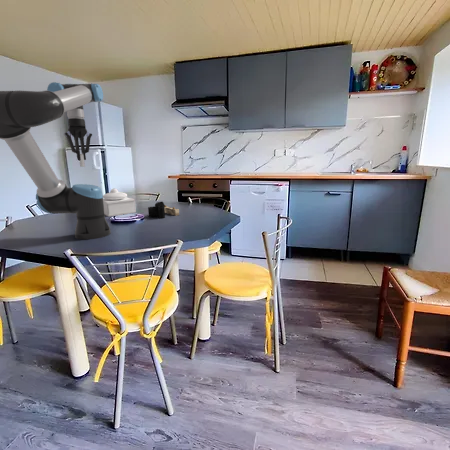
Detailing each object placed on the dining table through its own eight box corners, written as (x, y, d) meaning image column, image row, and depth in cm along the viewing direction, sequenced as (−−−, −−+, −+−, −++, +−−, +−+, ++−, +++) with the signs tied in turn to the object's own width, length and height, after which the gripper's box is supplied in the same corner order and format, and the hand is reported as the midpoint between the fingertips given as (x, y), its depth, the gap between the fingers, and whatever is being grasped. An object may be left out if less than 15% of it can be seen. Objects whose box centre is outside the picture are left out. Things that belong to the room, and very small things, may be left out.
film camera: (148, 214, 175) (147, 200, 173) (164, 213, 178) (163, 199, 176) (148, 219, 161) (147, 204, 159) (166, 218, 164) (165, 203, 162)
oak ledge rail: (179, 215, 173) (178, 207, 171) (175, 215, 171) (175, 208, 170) (164, 211, 186) (163, 204, 185) (161, 211, 184) (160, 204, 183)
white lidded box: (125, 209, 196) (123, 186, 192) (136, 212, 182) (134, 188, 179) (99, 212, 185) (96, 188, 181) (108, 216, 171) (105, 190, 168)
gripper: (87, 120, 148) (93, 166, 154) (59, 118, 140) (67, 166, 145) (92, 118, 142) (97, 166, 148) (63, 116, 134) (70, 167, 140)
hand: (82, 166), depth 147 cm, fingers closed
